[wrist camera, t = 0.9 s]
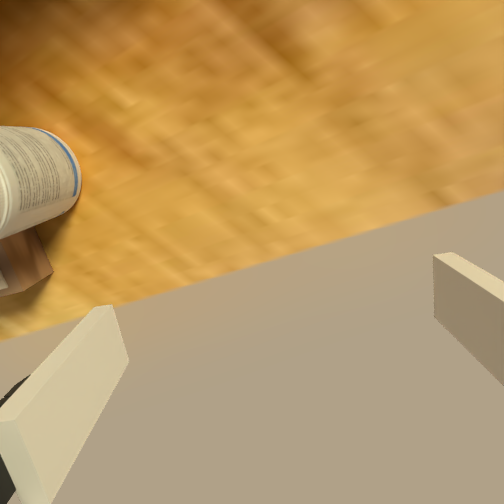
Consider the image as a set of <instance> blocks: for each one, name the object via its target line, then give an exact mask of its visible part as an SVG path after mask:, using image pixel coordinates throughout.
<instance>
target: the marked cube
mask: <svg viewBox="0 0 504 504" xmlns="http://www.w3.org/2000/svg"><path fill="white" fill-rule="evenodd" d="M53 272H54V271H53V269H52V267H51V264H50V262H49V260H48V258H47V255H46V253H45V251H44V248H43V246H42V244H41V241H40V239H39V237H38V234H37V232H36V230H35V228H34V226H32V227H30V228H27V229H25V230H22V231H20V232H18V233H15V234H13V235H10V236H8V237H5V238H3V239H0V297H3V296H7V295H11V294H15V293H18V292H22V291H25V290H26V289H28V288H29V287H31V286H32V285H34V284H36V283H37V282H39V281H40V280H42V279H43V278H45V277H47V276H48V275H50V274H51V273H53Z"/></svg>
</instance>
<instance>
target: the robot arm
mask: <svg viewBox="0 0 504 504" xmlns="http://www.w3.org/2000/svg"><path fill="white" fill-rule="evenodd" d="M433 279H434V317H435V318H436V319H437V320H438V321H439V322H440V323H441V324H442V325H443V326H444V327H445V328H446V329H447V330H448V331H449V332H450V333H451V334H452V335H453V336H454V337H455V338H456V339H457V340H458V341H459V342H460V343H461V344H462V345H463V346H464V347H465V348H466V349H467V350H468V351H469V352H470V353H471V354H472V355H473V356H474V357H475V358H476V359H477V360H478V361H479V362H480V363H481V364H482V365H483V366H484V367H485V368H486V369H487V370H488V371H489V372H490V373H491V374H492V375H493V376H494V377H495V378H496V379H497V380H498V381H499V382H500V383H501V384H502V385H503V386H504V281H502V280H500V279H498V278H496V277H495V276H493V275H491V274H490V273H488V272H486V271H484V270H482V269H481V268H479V267H478V266H476V265H474V264H472V263H471V262H469V261H467V260H465V259H464V258H462V257H460V256H458V255H457V254H455V253H453V252H449V253H443V254H437V255H433ZM128 363H129V359H128V356H127V352H126V349H125V346H124V342H123V339H122V336H121V332H120V329H119V326H118V322H117V319H116V316H115V312H114V309H113V306H112V304H111V305H104V306H98V307H94V308H93V309H92V310H91V311H90V312H89V313H88V314H87V315H86V316H85V318H84V319H83V320H82V321H81V322H80V323H79V324H78V325H77V326H76V327H75V328H74V329H73V330H72V331H71V332H70V334H69V335H68V336H67V337H66V338H65V339H64V340H63V341H62V342H61V343H60V344H59V346H57V348H56V349H55V350H54V351H53V352H52V353H51V354H50V355H49V356H48V357H47V358H46V359H45V360H44V361H43V363H42V364H41V365H40V366H39V367H38V368H37V369H36V370H35V371H34V372H33V373H32V374H31V375H29V376H27V377H26V378H24V379H23V380H22V381H20V382H19V383H17V384H16V385H15V386H14V387H13V388H12V389H11V390H10V391H9V392H8V393H7V394H6V395H5V396H4V398H2V399H1V400H0V504H7V502H8V501H9V500H10V498H11V497H12V495H13V493H14V492H15V491H16V493H17V496H18V498H19V500H20V502H21V504H51V503H52V501H53V499H54V497H55V495H56V494H57V492H58V490H59V488H60V486H61V485H62V483H63V481H64V479H65V477H66V476H67V474H68V472H69V470H70V468H71V467H72V465H73V463H74V461H75V459H76V457H77V455H78V454H79V452H80V450H81V448H82V447H83V445H84V443H85V441H86V439H87V437H88V435H89V434H90V432H91V430H92V428H93V427H94V425H95V423H96V421H97V419H98V418H99V415H100V414H101V412H102V410H103V408H104V407H105V405H106V403H107V401H108V399H109V398H110V396H111V394H112V392H113V390H114V388H115V387H116V385H117V383H118V381H119V379H120V377H121V376H122V374H123V372H124V370H125V368H126V367H127V365H128Z"/></svg>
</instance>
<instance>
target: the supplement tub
mask: <svg viewBox="0 0 504 504" xmlns="http://www.w3.org/2000/svg"><path fill="white" fill-rule="evenodd" d="M81 181H82V177H81V170H80V166H79V163H78V160H77V158H76V156H75V155H74V153H73V151H72V150H71V149H70V148H69V146H68V145H67V144H66V143H65V142H64V141H63V140H61V139H60V138H59V137H57V136H56V135H54V134H52V133H50V132H48V131H45V130H43V129H38V128H32V127H13V126H0V239H3V238H5V237H8V236H10V235H13V234H15V233H18V232H20V231H22V230H25V229H27V228H30V227H32V226H35V225H37V224H40V223H42V222H45V221H47V220H50V219H52V218H55V217H57V216H59V215H62V214H63V213H65V212H66V211H68V210H69V209H70V208H71V207H72V206H73V205H74V203H75V202H76V200H77V198H78V196H79V193H80V190H81Z"/></svg>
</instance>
